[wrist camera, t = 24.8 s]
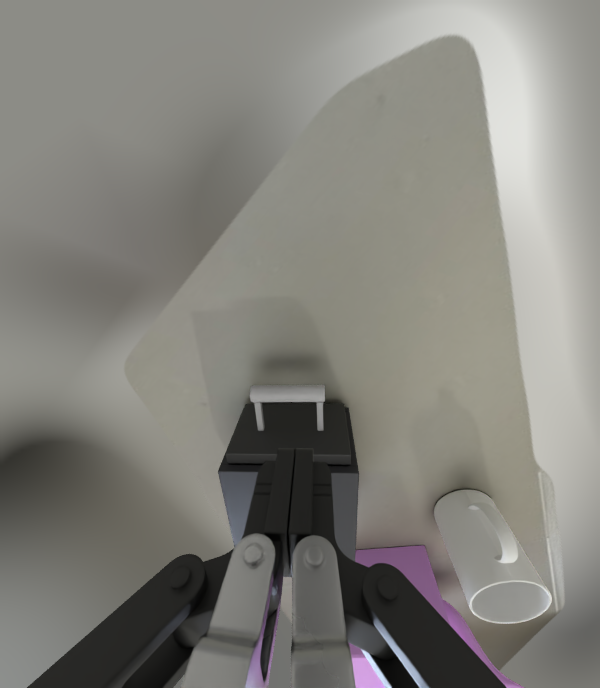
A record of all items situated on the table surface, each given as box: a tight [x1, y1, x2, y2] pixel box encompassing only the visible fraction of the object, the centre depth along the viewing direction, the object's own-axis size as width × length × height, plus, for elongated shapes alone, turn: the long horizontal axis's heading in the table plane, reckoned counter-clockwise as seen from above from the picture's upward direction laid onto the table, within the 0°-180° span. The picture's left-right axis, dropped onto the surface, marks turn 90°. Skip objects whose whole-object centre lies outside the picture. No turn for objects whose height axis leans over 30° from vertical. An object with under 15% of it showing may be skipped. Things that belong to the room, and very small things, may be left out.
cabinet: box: [218, 408, 359, 577], centre depth 33 cm, size 16×13×10 cm
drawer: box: [226, 385, 351, 466], centre depth 31 cm, size 20×11×8 cm, turn 3°
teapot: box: [348, 545, 524, 688], centre depth 39 cm, size 15×25×14 cm, turn 103°
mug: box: [434, 490, 552, 624], centre depth 33 cm, size 12×8×10 cm, turn 11°
